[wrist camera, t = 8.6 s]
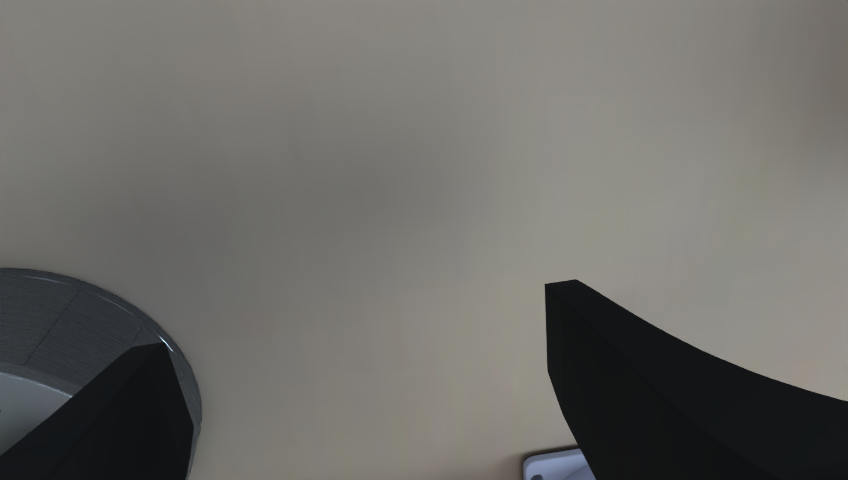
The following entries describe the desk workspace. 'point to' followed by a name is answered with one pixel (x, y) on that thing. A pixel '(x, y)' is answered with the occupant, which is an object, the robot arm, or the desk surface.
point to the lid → (28, 400)
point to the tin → (79, 332)
